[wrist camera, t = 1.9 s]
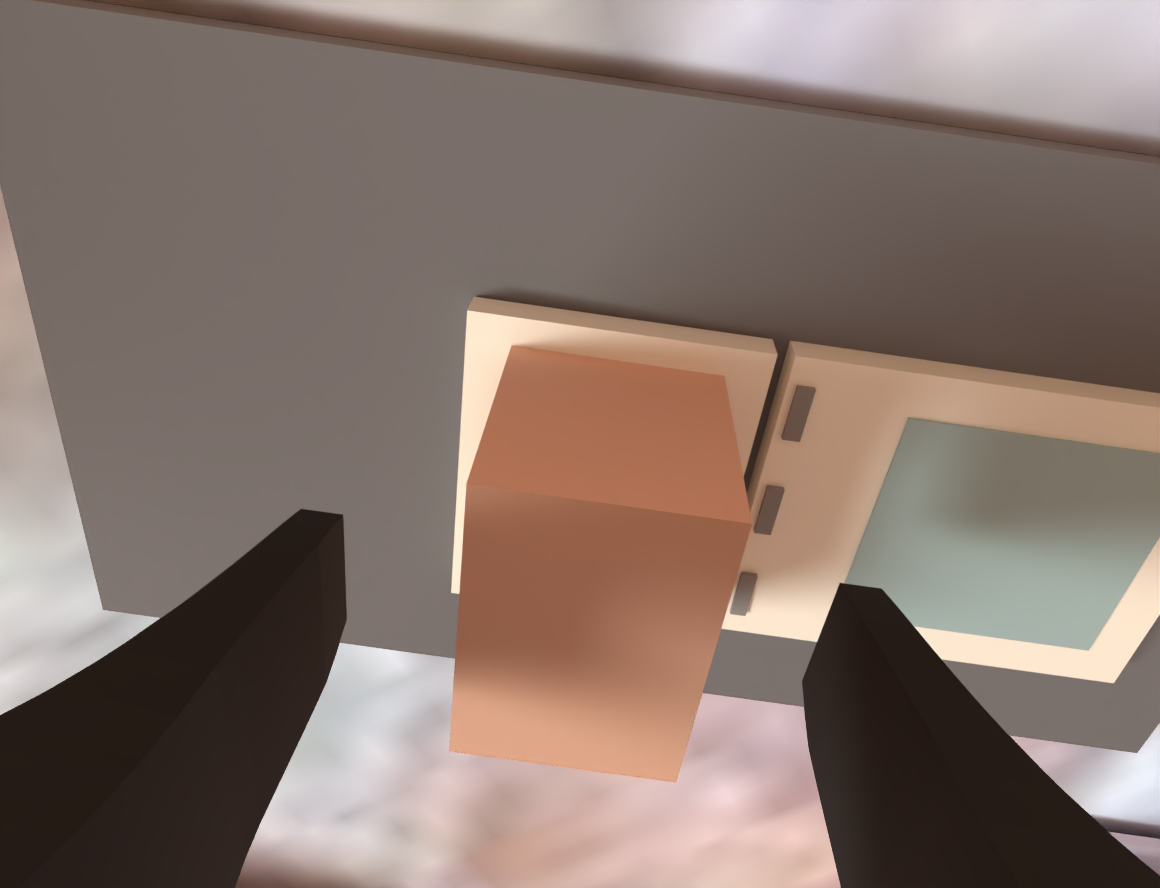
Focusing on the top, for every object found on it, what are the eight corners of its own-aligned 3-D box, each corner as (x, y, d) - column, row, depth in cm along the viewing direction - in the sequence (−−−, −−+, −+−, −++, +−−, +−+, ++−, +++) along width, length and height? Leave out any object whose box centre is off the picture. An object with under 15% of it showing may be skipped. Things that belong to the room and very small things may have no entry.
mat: (1483, 203, 13) (1531, 218, 12) (1119, 723, 19) (1136, 753, 18) (-10, -14, 12) (-47, -12, 12) (122, 585, 19) (102, 609, 18)
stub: (772, 339, 14) (825, 498, 10) (700, 607, 17) (717, 808, 13) (474, 296, 14) (405, 440, 10) (456, 572, 17) (400, 765, 13)
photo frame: (1262, 408, 14) (1290, 429, 13) (1099, 661, 17) (1116, 687, 16) (790, 340, 14) (796, 358, 13) (714, 607, 17) (717, 631, 16)
